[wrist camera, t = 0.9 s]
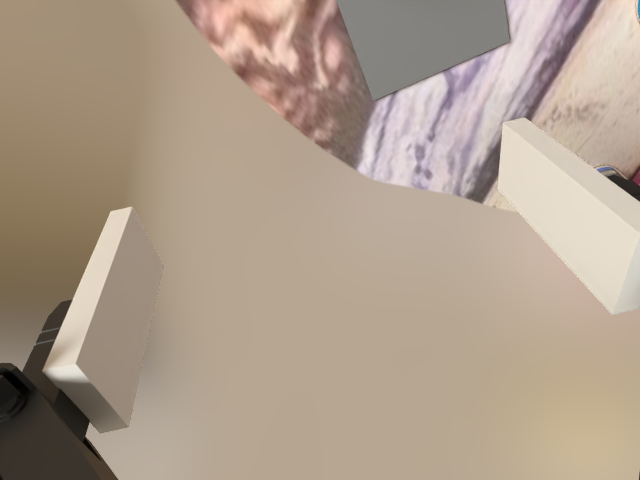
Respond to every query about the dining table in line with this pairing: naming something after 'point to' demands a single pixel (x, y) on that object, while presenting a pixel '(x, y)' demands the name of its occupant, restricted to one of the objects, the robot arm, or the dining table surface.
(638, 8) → the beverage bottle
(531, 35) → the dining table surface
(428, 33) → the mat
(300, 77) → the dining table surface
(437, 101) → the dining table surface
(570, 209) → the robot arm
